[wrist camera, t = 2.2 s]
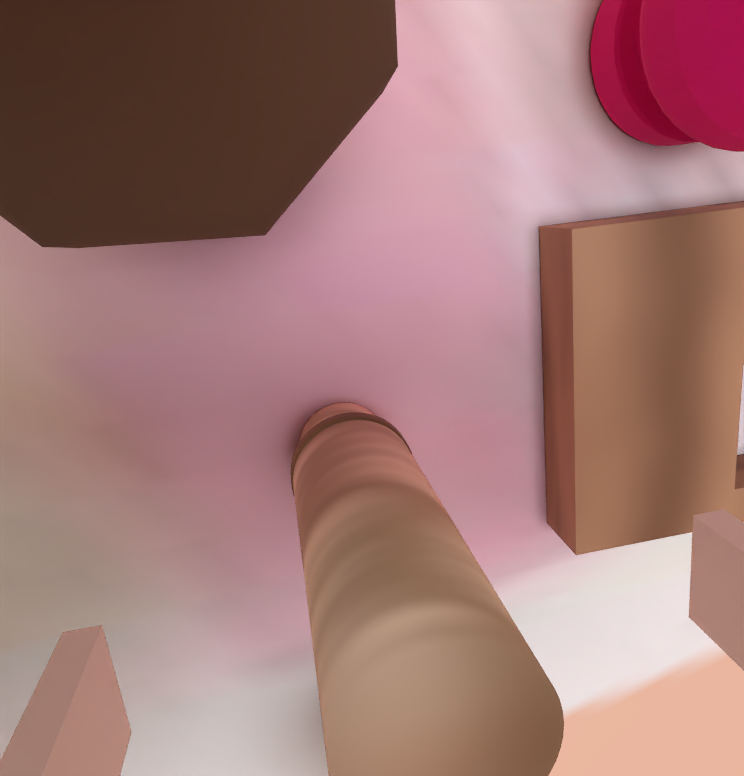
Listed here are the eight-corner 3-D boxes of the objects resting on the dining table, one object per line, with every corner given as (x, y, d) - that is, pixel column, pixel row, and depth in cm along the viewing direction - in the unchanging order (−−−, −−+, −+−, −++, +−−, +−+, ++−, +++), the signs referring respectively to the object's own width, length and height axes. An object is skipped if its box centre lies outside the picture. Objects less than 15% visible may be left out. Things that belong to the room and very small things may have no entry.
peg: (295, 502, 24) (341, 871, 11) (279, 399, 23) (308, 674, 9) (400, 483, 24) (568, 813, 11) (390, 382, 23) (564, 620, 10)
